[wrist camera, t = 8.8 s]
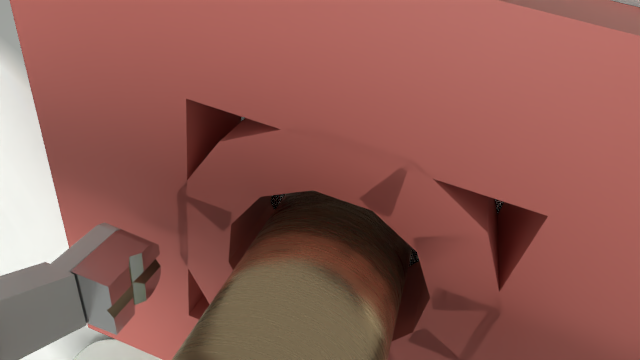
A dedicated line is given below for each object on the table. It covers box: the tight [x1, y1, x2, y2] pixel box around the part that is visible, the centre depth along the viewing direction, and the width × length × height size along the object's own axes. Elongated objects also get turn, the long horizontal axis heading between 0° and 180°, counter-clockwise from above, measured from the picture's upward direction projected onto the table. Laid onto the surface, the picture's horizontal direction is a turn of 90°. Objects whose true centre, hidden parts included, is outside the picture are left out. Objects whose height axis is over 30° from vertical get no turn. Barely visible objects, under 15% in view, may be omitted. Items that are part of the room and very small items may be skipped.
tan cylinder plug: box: [172, 190, 413, 360], centre depth 11 cm, size 4×4×7 cm
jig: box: [10, 0, 640, 360], centre depth 13 cm, size 17×15×3 cm
